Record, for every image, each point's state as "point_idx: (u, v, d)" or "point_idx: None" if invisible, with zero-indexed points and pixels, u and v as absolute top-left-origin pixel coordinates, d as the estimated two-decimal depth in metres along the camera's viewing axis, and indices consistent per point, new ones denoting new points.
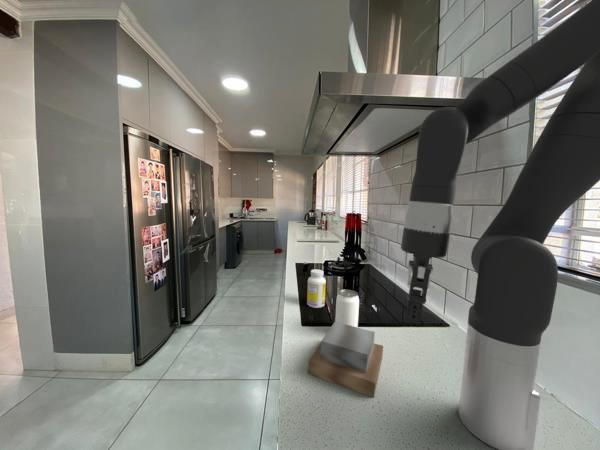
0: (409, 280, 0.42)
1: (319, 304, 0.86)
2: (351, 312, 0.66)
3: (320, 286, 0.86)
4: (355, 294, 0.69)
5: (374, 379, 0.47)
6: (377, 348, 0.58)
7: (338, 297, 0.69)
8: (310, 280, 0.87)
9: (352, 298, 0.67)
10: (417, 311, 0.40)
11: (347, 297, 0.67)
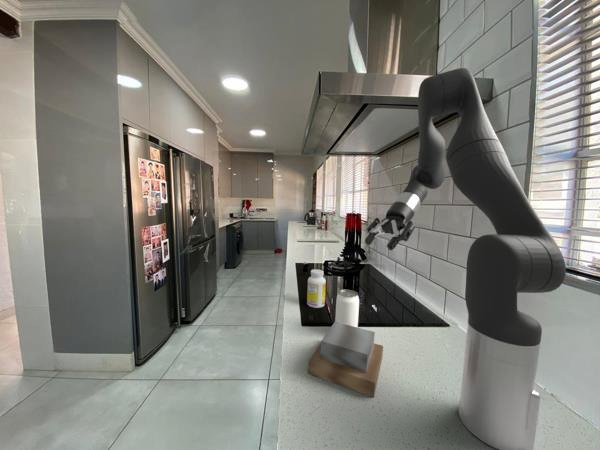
0: (381, 231, 0.80)
1: (319, 304, 0.86)
2: (351, 312, 0.66)
3: (320, 286, 0.86)
4: (355, 294, 0.69)
5: (374, 379, 0.47)
6: (377, 348, 0.58)
7: (338, 297, 0.69)
8: (310, 280, 0.87)
9: (352, 298, 0.67)
10: None
11: (347, 297, 0.67)
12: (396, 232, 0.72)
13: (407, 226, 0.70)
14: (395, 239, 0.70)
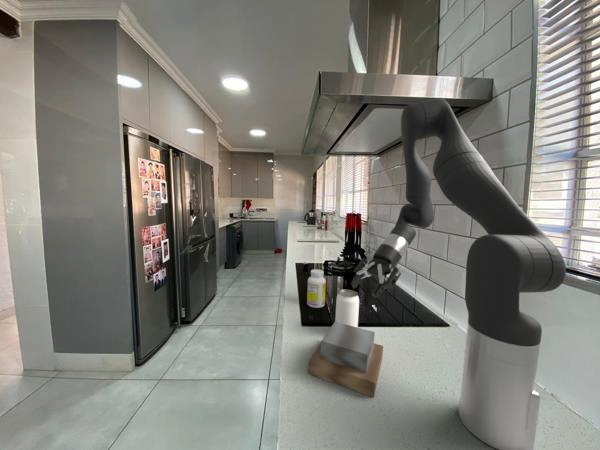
0: (368, 273, 0.78)
1: (319, 304, 0.86)
2: (351, 312, 0.66)
3: (320, 286, 0.86)
4: (355, 294, 0.69)
5: (374, 379, 0.47)
6: (377, 348, 0.58)
7: (338, 297, 0.69)
8: (310, 280, 0.87)
9: (352, 298, 0.67)
10: (354, 278, 0.77)
11: (347, 297, 0.67)
12: (381, 278, 0.70)
13: (393, 273, 0.69)
14: (380, 286, 0.69)
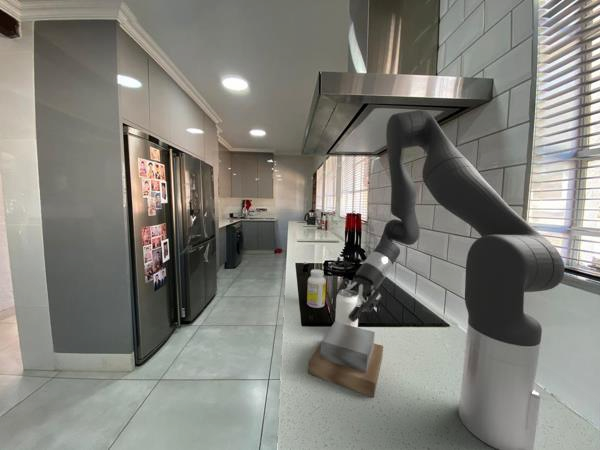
0: None
1: (319, 304, 0.86)
2: None
3: (320, 286, 0.86)
4: (355, 294, 0.69)
5: (374, 379, 0.47)
6: (377, 348, 0.58)
7: (338, 297, 0.69)
8: (310, 280, 0.87)
9: (352, 298, 0.67)
10: None
11: (347, 297, 0.67)
12: (360, 301, 0.67)
13: (372, 297, 0.66)
14: (357, 310, 0.66)
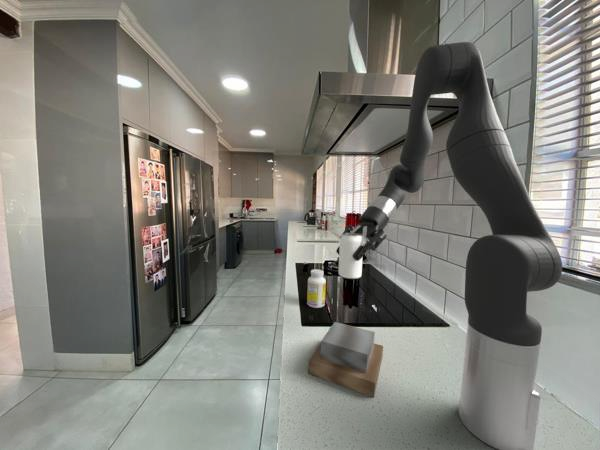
0: None
1: (319, 304, 0.86)
2: None
3: (320, 286, 0.86)
4: None
5: (374, 379, 0.47)
6: (377, 348, 0.58)
7: (341, 238, 0.67)
8: (310, 280, 0.87)
9: (356, 237, 0.65)
10: None
11: (351, 236, 0.65)
12: (364, 240, 0.65)
13: (377, 235, 0.64)
14: (362, 248, 0.64)
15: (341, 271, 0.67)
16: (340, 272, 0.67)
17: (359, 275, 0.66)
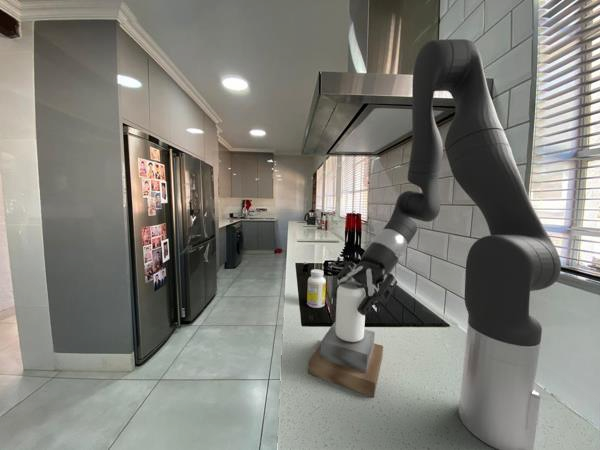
0: (355, 280, 0.60)
1: (319, 304, 0.86)
2: (356, 308, 0.52)
3: (320, 286, 0.86)
4: (360, 286, 0.55)
5: (374, 379, 0.47)
6: (377, 348, 0.58)
7: (339, 290, 0.54)
8: (310, 280, 0.87)
9: (357, 291, 0.52)
10: None
11: (351, 289, 0.52)
12: (371, 289, 0.52)
13: (386, 282, 0.50)
14: (369, 300, 0.50)
15: (339, 331, 0.54)
16: (337, 332, 0.54)
17: (361, 337, 0.53)
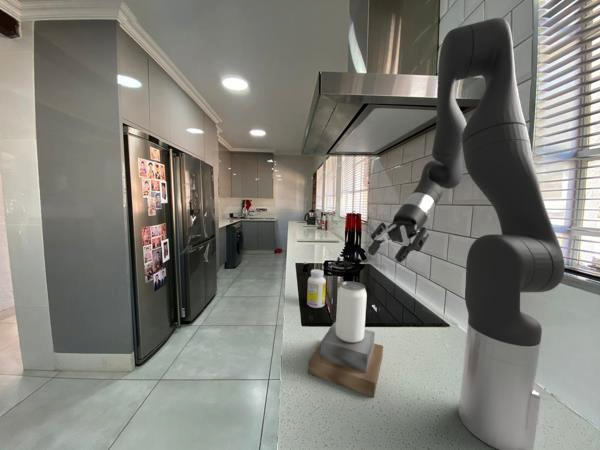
0: None
1: (319, 304, 0.86)
2: (357, 309, 0.52)
3: (320, 286, 0.86)
4: (361, 287, 0.54)
5: (374, 379, 0.47)
6: (377, 348, 0.58)
7: (340, 291, 0.54)
8: (310, 280, 0.87)
9: (358, 292, 0.52)
10: None
11: (351, 290, 0.52)
12: (406, 240, 0.59)
13: (420, 233, 0.58)
14: (405, 249, 0.58)
15: (339, 332, 0.54)
16: (338, 333, 0.54)
17: (361, 338, 0.53)
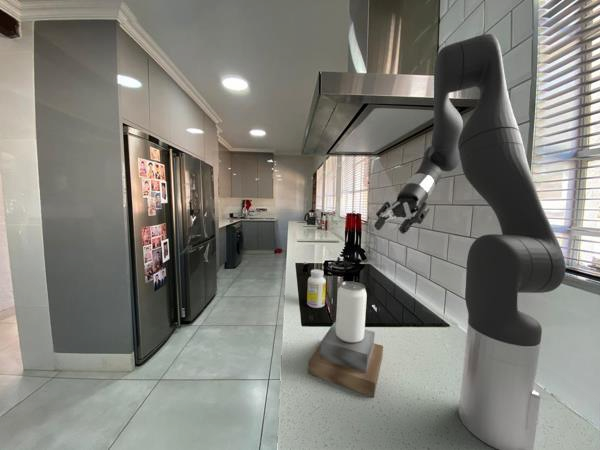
0: None
1: (319, 304, 0.86)
2: (357, 309, 0.52)
3: (320, 286, 0.86)
4: (361, 287, 0.54)
5: (374, 379, 0.47)
6: (377, 348, 0.58)
7: (340, 291, 0.54)
8: (310, 280, 0.87)
9: (358, 292, 0.52)
10: None
11: (351, 290, 0.52)
12: (409, 214, 0.66)
13: (421, 208, 0.65)
14: (408, 221, 0.65)
15: (339, 332, 0.54)
16: (338, 333, 0.54)
17: (361, 338, 0.53)
